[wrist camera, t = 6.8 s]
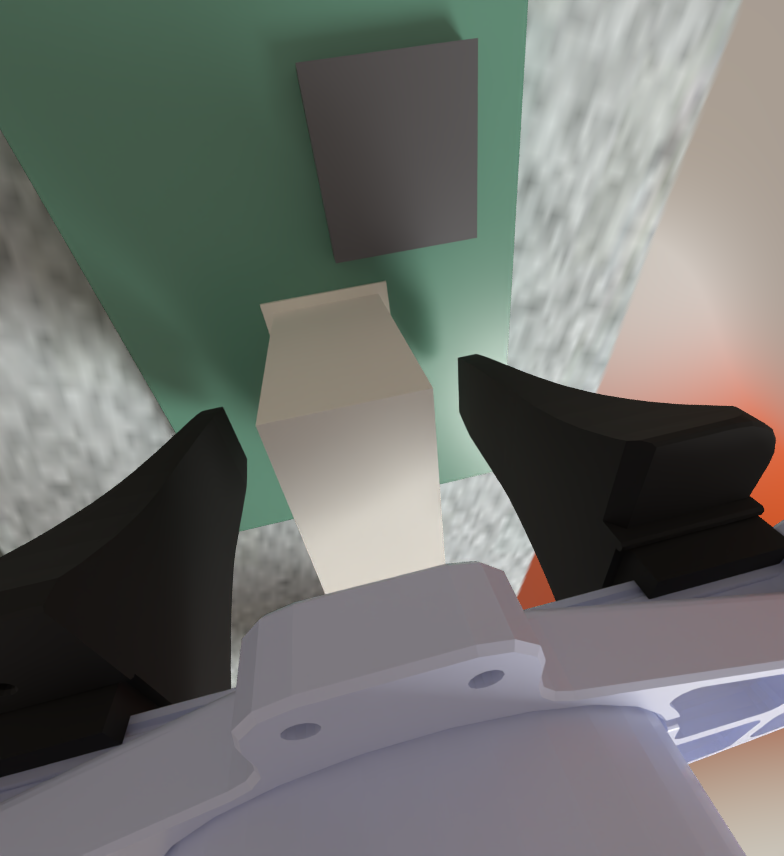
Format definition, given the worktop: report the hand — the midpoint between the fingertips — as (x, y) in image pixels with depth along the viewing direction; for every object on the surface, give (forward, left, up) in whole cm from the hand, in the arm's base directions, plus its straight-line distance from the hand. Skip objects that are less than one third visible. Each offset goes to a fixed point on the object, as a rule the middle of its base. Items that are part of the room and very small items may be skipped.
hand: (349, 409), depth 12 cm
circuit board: (+2, 0, -3) cm, 4 cm away
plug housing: (0, 0, -2) cm, 2 cm away
